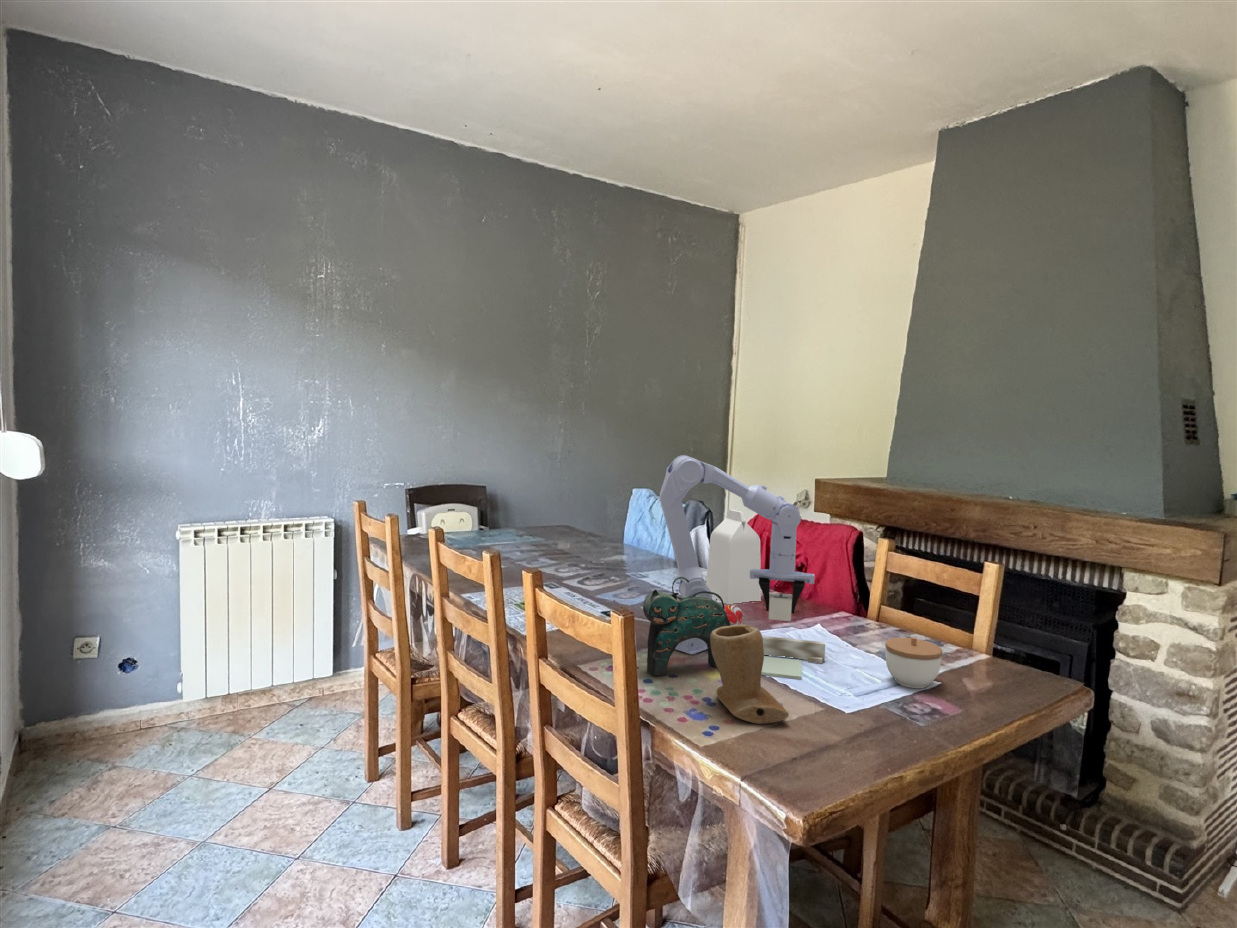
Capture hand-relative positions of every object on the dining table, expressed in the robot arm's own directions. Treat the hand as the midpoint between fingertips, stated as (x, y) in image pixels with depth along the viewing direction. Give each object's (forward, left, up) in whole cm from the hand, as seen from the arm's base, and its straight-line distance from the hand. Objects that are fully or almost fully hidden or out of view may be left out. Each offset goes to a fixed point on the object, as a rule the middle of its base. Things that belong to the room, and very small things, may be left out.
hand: (780, 611), depth 163 cm
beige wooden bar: (-6, -3, -8) cm, 11 cm away
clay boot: (-36, -14, -9) cm, 40 cm away
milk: (+28, +33, -9) cm, 44 cm away
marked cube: (0, 0, -1) cm, 1 cm away
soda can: (+1, +14, -5) cm, 15 cm away
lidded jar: (+1, -30, -9) cm, 32 cm away
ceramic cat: (-28, +6, -9) cm, 30 cm away
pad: (-13, -7, -8) cm, 17 cm away
